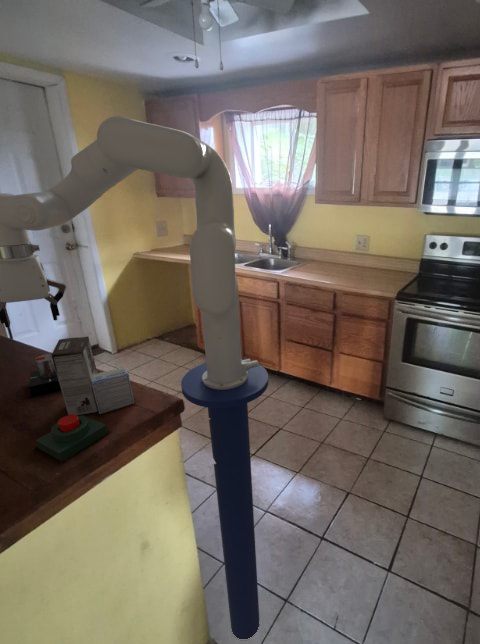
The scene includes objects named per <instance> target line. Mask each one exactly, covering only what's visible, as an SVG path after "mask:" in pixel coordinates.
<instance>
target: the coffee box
mask: <svg viewBox="0 0 480 644" xmlns="http://www.w3.org/2000/svg"><path fill="white" fill-rule="evenodd" d="M89 337H90V336H82V337H81V336H79V337H76V336H75V337H66V338H61V339H58V341H57V343H56V345H55V347H54V348H53V351H52V353H51V354H52V355H51V356H52V359H53V363H54V366H55V370H56V373H57V377H58V380H59V384H60V387H61V390H60V391H61V394H62V398H63V401H64V406H65V408H66V412H67V416H68V415H77V416H81V415H87V414H93V413H99V411H98V407H97V404H96V400H95V396H94V392H93V388H92V384H91V378H92V376H93V375H94V374H98V370H97V366H96V361H95V357H94V353H93V349H92V345H91V342H90V341H91V340H90V338H89Z"/></svg>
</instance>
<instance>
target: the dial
mask: <svg viewBox="0 0 480 644" xmlns="http://www.w3.org/2000/svg"><path fill="white" fill-rule="evenodd" d="M51 355H52V353H46V354H41V355H39V356H37V357H34V362H35V365H36V367H37V370H38V371H39V374H40V377H41V378H44V379H47V378H52V377H55V376H57V373H56V370H55V366H54V363H53V359H52V356H51Z"/></svg>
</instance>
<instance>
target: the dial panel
mask: <svg viewBox="0 0 480 644" xmlns="http://www.w3.org/2000/svg"><path fill="white" fill-rule="evenodd" d="M28 389H29V393H30V395H31V398H32V397H38V396H41V395H46V394H51V393H55V392H59V391H61V387H60V384H59V380H58V377H57V376H55V377H52V378H47V379H44V378H41V377H40V374H39V371H38V369H37V370H32V371H30V374H29V382H28Z"/></svg>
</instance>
